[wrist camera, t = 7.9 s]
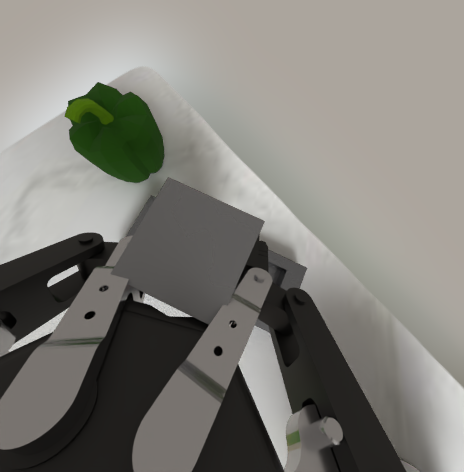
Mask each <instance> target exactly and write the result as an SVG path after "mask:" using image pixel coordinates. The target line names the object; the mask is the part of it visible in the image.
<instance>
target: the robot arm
mask: <svg viewBox="0 0 464 472" xmlns="http://www.w3.org/2000/svg"><path fill="white" fill-rule="evenodd" d="M132 237H133V236H128V237H125V238H123V239H121V240H120V241H119V243H116V242H104V241H103V237H102V236H101V235H100V234H97V233H82V234H79V235H76V236H73V237H71V238H68V239H66V240H63V241H61V242H58V243H56V244H53V245H50V246H48V247H45V248H43V249H40V250H38V251H35V252H33V253H30V254H27V255H25V256H22V257H20V258H17V259H15V260H12V261H10V262H7V263H4V264H2V265H0V472H406V470H405V468H404V466H403V464H402V462H401V461H400V459H399V457H398V455H397V453H396V451H395V450H394V448H393V446H392V444H391V442H390V441H389V439H388V437H387V435H386V433H385V431H384V430H383V428H382V426H381V424H380V422H379V420H378V419H377V417H376V415H375V413H374V411H373V410H372V408H371V406H370V404H369V402H368V400H367V399H366V397H365V395H364V393H363V391H362V389H361V388H360V386H359V384H358V382H357V380H356V379H355V377H354V375H353V373H352V371H351V369H350V368H349V366H348V364H347V362H346V360H345V358H344V357H343V355H342V353H341V351H340V349H339V347H338V346H337V344H336V342H335V340H334V338H333V337H332V335H331V333H330V331H329V329H328V327H327V326H326V324H325V322H324V320H323V318H322V316H321V315H320V313H319V311H318V309H317V307H316V306H315V304H314V302H313V300H312V298H311V297H310V296H309V295H308V294H307V293H306V292H305V291H303V290H301V289H299V288H289V289H288V290H287V291H286V290H285V289H283V288H281V287H279V286H277V285H276V284H275V283H274V282H273V281H272V277H271V275H270V274H269V267H268V246H267V245H266V243H265V242H263V241H259V235H258V238H257V240H256V242H255V244H254V247H253V249H252V251H251V253H250V256H249V258H248V260H247V262H246V265H245V267H244V269H243V271H242V274H241V276H240V278H239V280H238V283H237V285H236V290H235V292H234V293H233V294H232V296H231V298H230V301H229V303H228V305H227V306H226V305H222V307H221V308H220V310H219V311H218V313H217V314H216V316H215V317H214V319H213V320H212V322H211V323H210V325H208V324H206V323H204V322H202V321H200V320H198V319H196V318H194V317H170V316H167V315H165V314H164V313H162V312H160V311H159V310H157V309H155V308H154V307H152V306H151V305H148V304H144V303H143V300H144V297H145V293H144V292H142V291H140V290H138V289H136V288H134V287H132V286H130V285H128V281H129V279H126V278H122V277H119V276H115V275H111V274H110V273H111V272H112V270H113V268H114V267H115V265H116V263H117V262H118V260H119V258H120V257H121V255H122V253H123V252H124V250H125V248H126V247H127V245H128V243H129V242H130V240H131V238H132ZM75 265H77V267H78V269H79V271H78V272H76V273H74V274H72V275H70V276H69V277H67V278H65V279H63V280H61V281H59V282H57V283H56V284H54V285H52V286H50V287H47V283H48V281H49V280H50V279H51V278H52V277H53V276H55V275H57V274H59V273H61V272H63V271H65V270H67V269H69V268H71V267H73V266H75ZM67 308H69V309H68V310H67V312H66V313H65V315H64V316H63V318H62V320H61V321H60V323H59V324H58V326H57V327H56V329H55V330H54V332H52V333H50V334H48V335H46V336H44V337H41V338H39V339H37V340H35V341H33V342H31V343H29V344H26V345H24V346H22V347H20V348H18V349H16V350H14V351H11V352H9V351H8V350H9V349H10V348H11V347H12V345H13V344H14V343H16V342H17V341H19V340H20V339H22V338H23V337H25V336H26V335H28V334H29V333H31V332H33V331H34V330H36V329H37V328H39V327H40V326H42V325H43V324H45V323H46V322H48V321H49V320H51V319H52V318H54V317H55V316H57V315H58V314H60V313H61V312H63V311H64V310H66V309H67ZM257 319H259V320H260V321H262V322H264V323H265V324H267V325H268V326H269V330H270V334H271V337H272V341H273V345H274V348H275V352H276V355H277V359H278V363H279V366H280V370H281V373H282V377H283V381H284V384H285V388H286V391H287V395H288V399H289V402H290V406H291V409H292V413H293V415H291V416H290V418H289V419H288V422H287V426H286V439H287V446H288V457H287V463H286V466H285V468H284V469H283V467H282V465H281V463H280V460H279V458H278V456H277V453H276V451H275V449H274V446H273V444H272V442H271V439H270V437H269V435H268V432H267V430H266V428H265V425H264V423H263V421H262V418H261V416H260V414H259V411H258V409H257V407H256V404H255V402H254V400H253V398H252V395H251V393H250V391H249V388H248V386H247V384H246V381H245V379H244V377H243V374H242V372H241V370H240V367H239V365H238V362H239V360H240V358H241V355H242V353H243V351H244V348H245V346H246V344H247V341H248V339H249V337H250V334H251V332H252V330H253V327H254V325H255V323H256V320H257Z"/></svg>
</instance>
